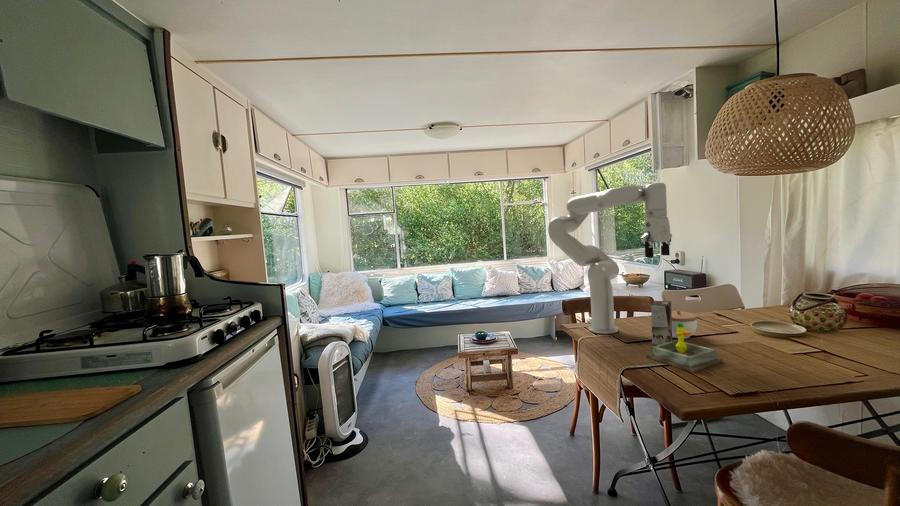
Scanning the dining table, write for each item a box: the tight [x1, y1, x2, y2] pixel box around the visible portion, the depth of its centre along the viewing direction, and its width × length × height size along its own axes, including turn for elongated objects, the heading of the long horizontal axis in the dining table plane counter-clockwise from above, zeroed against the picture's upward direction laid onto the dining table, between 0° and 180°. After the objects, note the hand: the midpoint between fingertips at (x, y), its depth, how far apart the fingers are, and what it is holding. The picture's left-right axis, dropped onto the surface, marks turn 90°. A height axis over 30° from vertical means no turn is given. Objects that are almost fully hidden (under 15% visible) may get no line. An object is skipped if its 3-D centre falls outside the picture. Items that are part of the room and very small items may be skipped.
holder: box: [645, 339, 723, 374], centre depth 121 cm, size 16×16×4 cm
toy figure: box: [675, 322, 691, 356], centre depth 122 cm, size 7×4×12 cm, turn 102°
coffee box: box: [650, 300, 673, 346], centre depth 139 cm, size 9×6×16 cm
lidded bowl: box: [671, 309, 698, 340], centre depth 145 cm, size 13×13×11 cm
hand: (657, 256), depth 142 cm, fingers open, 9 cm apart
